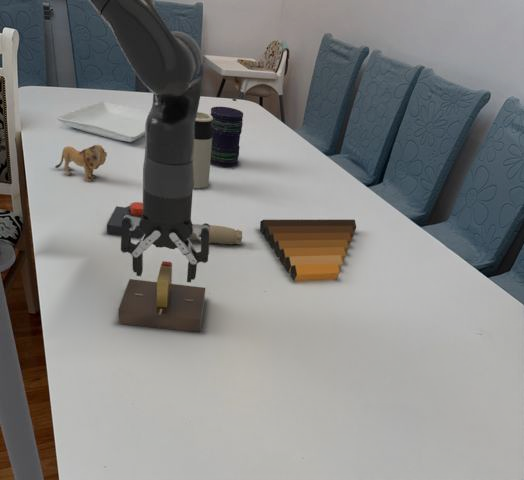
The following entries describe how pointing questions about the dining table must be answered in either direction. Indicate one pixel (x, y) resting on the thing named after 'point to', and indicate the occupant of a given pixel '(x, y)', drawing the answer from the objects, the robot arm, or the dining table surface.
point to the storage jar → (225, 136)
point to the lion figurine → (84, 159)
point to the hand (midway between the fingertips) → (164, 276)
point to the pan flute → (310, 246)
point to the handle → (221, 235)
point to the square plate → (108, 121)
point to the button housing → (116, 222)
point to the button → (136, 208)
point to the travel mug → (202, 149)
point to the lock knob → (164, 284)
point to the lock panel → (173, 317)
